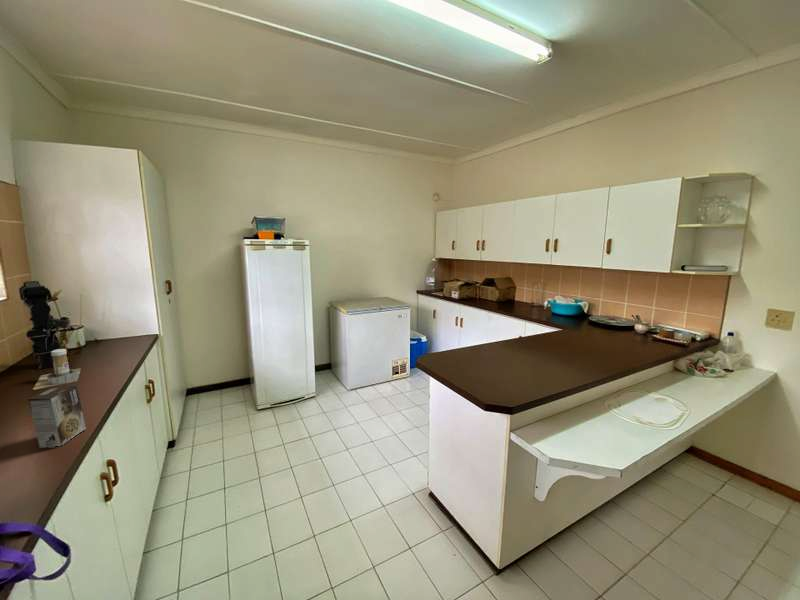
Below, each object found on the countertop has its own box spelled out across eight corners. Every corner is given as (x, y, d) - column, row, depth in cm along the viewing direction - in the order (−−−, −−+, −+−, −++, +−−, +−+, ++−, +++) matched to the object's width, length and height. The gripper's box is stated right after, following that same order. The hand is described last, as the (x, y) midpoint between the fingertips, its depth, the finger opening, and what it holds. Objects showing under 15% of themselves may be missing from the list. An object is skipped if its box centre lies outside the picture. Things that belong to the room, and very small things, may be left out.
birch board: (41, 377, 147) (40, 375, 147) (81, 370, 155) (80, 368, 155) (33, 392, 133) (32, 389, 133) (77, 383, 141) (77, 380, 141)
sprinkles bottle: (66, 381, 141) (60, 351, 138) (53, 382, 140) (47, 352, 137) (73, 377, 145) (68, 348, 143) (61, 378, 144) (56, 348, 142)
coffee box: (66, 430, 107) (56, 384, 104) (87, 429, 107) (78, 384, 104) (38, 448, 98) (26, 398, 95) (61, 447, 98) (50, 397, 95)
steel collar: (50, 379, 143) (49, 372, 142) (79, 374, 148) (77, 367, 148) (47, 386, 136) (45, 379, 135) (76, 380, 142) (75, 374, 141)
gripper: (59, 314, 142) (67, 349, 144) (71, 309, 157) (77, 341, 159) (22, 318, 136) (30, 354, 138) (37, 313, 151) (45, 345, 153)
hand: (47, 348), depth 147 cm, fingers open, 9 cm apart
